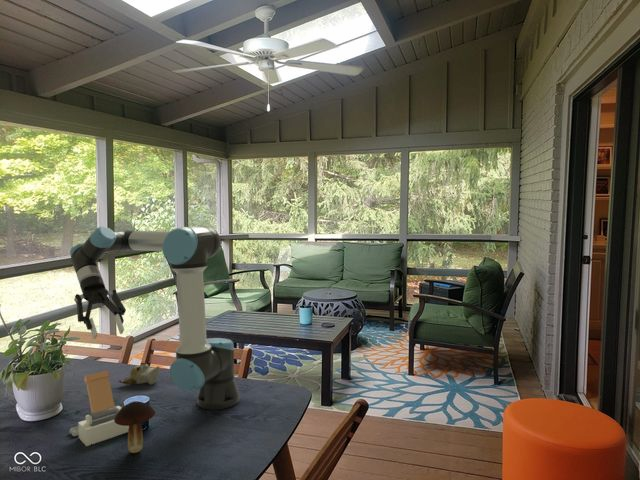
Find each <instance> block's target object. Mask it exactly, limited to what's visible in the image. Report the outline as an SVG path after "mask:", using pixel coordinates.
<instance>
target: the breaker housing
mask: <svg viewBox="0 0 640 480" xmlns="http://www.w3.org/2000/svg"><path fill="white" fill-rule="evenodd" d="M115 406H116V405H115ZM116 408H117V413H118V412H119V411H120V410H121V409H122V408H123V407H122V406H120V405H117V406H116ZM117 413H114V414H111V415H108V416H105V417H101V418H98V419H95V420H92V417H91V414H86V415H85V420H81V421H77V426H74V427H71V428H70V429H69V431H68V432H69V434H70V435H71V436H72V437H77V436H78V439H79V440H80V441H81V442H82V443H83V444H84V446H85V447H88V446H91V444H92V445H94V444H96V443H100V442H103V441H106V440H110V439H112V438H114V437H118V436H120V435H123V434H126V433H127V434H128V429H129V426H122V425H118V424H116V423H115V422H114V420H115V417H116V415H117Z"/></svg>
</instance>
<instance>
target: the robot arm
mask: <svg viewBox="0 0 640 480" xmlns="http://www.w3.org/2000/svg"><path fill="white" fill-rule="evenodd" d="M221 243H222V242H221V237H220V235H219V233H218V232H217V230H215V228H213V227H210V226H207V225H200V226H199V225H198V226H181V227H177V228H174V229H172V230H131V229H130V230H122V231H120V230H119V231H114V230H112V229H111V228H109V227H106V226H98V227H97V228H96V229H95V230H94V231H93V232H91V234H90V235H89V237H88V238H87V239H86V240H85V242H84V243H77V244H75V246H72V248H71V249H70V250H69V255H70V261H71V263H72V266H73V269H74V272H75V274H76V278H77V280H78V284H79V286H80V290H81V294H79V293H77V294H75V295H74V298H73V300H74V302H75V303H76V304H75V305H76V312H77V315H76V316H77V322H78V323H81V322H82V323H83V324H84V325H85V326H86V329H87V330H88V331H90V332H91V335H92V339H93V340H94V339H97V337H98V330H97V327H96V324H95V322H94V319H93V317H91V312H92V308H93V305H96V304H102V305H103V306H105V307H106V308H107V310H109V311H110V312H111V313H112V315H114V321H115V323H116V324H115V325H116V326H117V329H118V332H119V334H120V335H123V333H124V331H125V328H124V325H123V324H124V317H123V316H125V313H126V310H127V309H126V307H125V305H124V304H123V302H122V301H121V299H120V297H119V296H118V294H117V290H116V289H112V290H108V289H107V288H106V286H105V282H104V279H103V278H102V274H101V270H100V268H99V266H98V261H99V260H100V259H101V258H102V257H103V255H105V254H106V253H115V252H116V253H117V252H121V251H123V252H124V251H143V252H144V251H146V252H150V251H151V252H162V254H163V255H164V258H165V259H166V260H167V262H168V263H169V264H170V269H171V270H172V271H173V272H175V274H176V290H177V291H176V292H177V309H178V326H179V328H178V329H179V346H177V348H176V349H175V360H173V361H172V363H171V364H170V366H169V376H170V380H171V381H172V383H173V384H174V386H176V388H177V389H179V390H181V391H184V392H187V393H188V392H189V393H190V392H194V391H196V390H198V394H197V396H196V400H197V401H196V403H197V406H198V407H199V408H201V409H205V410H213V411H215V410H224V409H228V408H231V407H233V406H235V405H237V404H238V403H239V402H240V391H239V389H238V386H237V384H236V380H235V349H234V348H235V347H234V342H233V341H232V340H231V339H228V338H222V337H213V338H212V337H211V338H207V325H206V307H205V306H206V305H205V302H206V301H205V286H204V271H205V270H206V269H207V268H208V259H211V258H213V257H214V256H216V255H217V254H218V252H219V250H220V249H221ZM83 299H84V300H85V301H87V306H86V311H85V315H84V310H83V307H84V306H83ZM110 299H111V300H112V301H111V300H110Z"/></svg>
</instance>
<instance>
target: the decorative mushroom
mask: <svg viewBox="0 0 640 480" xmlns="http://www.w3.org/2000/svg"><path fill="white" fill-rule="evenodd" d="M121 408H122V409H121V410H120V411H119V412H118V413H117V415H116V417H115V420H114V422H115V423H116V424H118V425H122V426H129V429H128V432H127V449H128V451H129V452H130V453H131V454H137V453H140V452H141V451H142V449H143V448H144V437H143V436H144V435H143V427H142V423H143V422H147V421H149V420H151V419H153V417H154V416H155V414H156V412H155V410H154V409H153V408H154V407H152V406H151V405H149V404H147V403H146V402H143V401H138V400H137V401H136V400H135V401H131V402H129V403H127V404H125V405H124V406H122V407H121Z"/></svg>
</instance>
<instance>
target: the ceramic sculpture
mask: <svg viewBox="0 0 640 480" xmlns="http://www.w3.org/2000/svg"><path fill="white" fill-rule="evenodd" d="M159 376H160V366H159V365H157V366H154V367H150V366H149V364H148V363H146V362H141V363H140V364H138V365H136V366H134V367H133V368H132V369H131V371H130V376H128V377H126V378H123V380H118V382H119V383H121V384H124V385H134V384H140V385H141V384H145V383H147V384H149V385H154V384H156V383H157V381H158V378H159Z"/></svg>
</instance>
